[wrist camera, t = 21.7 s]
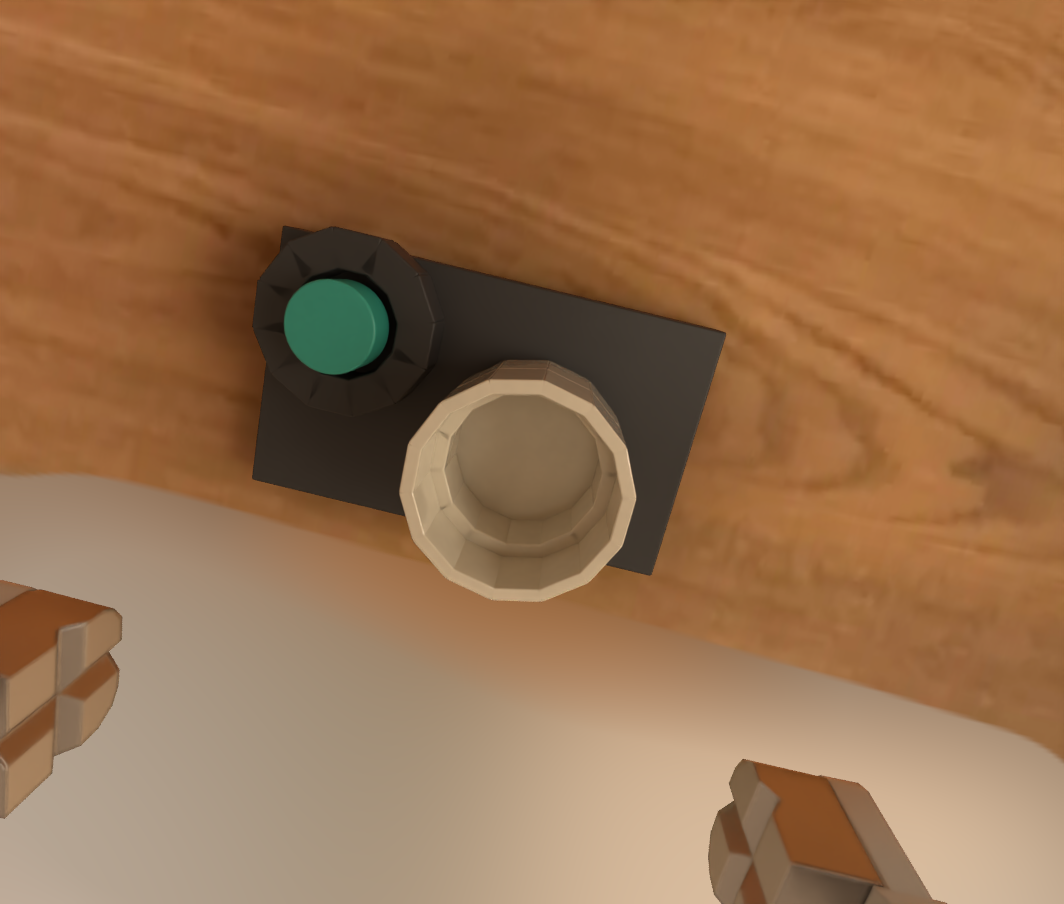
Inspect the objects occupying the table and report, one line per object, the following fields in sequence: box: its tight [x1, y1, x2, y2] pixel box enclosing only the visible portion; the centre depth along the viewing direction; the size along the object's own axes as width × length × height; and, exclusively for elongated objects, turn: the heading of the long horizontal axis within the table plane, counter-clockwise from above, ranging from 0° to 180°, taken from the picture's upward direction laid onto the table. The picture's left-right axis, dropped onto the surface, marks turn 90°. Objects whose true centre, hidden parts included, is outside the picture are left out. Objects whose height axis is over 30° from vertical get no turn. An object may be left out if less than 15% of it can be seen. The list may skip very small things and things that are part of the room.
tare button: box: [284, 279, 389, 375], centre depth 20 cm, size 3×3×2 cm
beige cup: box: [399, 360, 636, 602], centre depth 20 cm, size 6×6×5 cm
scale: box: [252, 226, 726, 575], centre depth 22 cm, size 15×9×3 cm, turn 77°
